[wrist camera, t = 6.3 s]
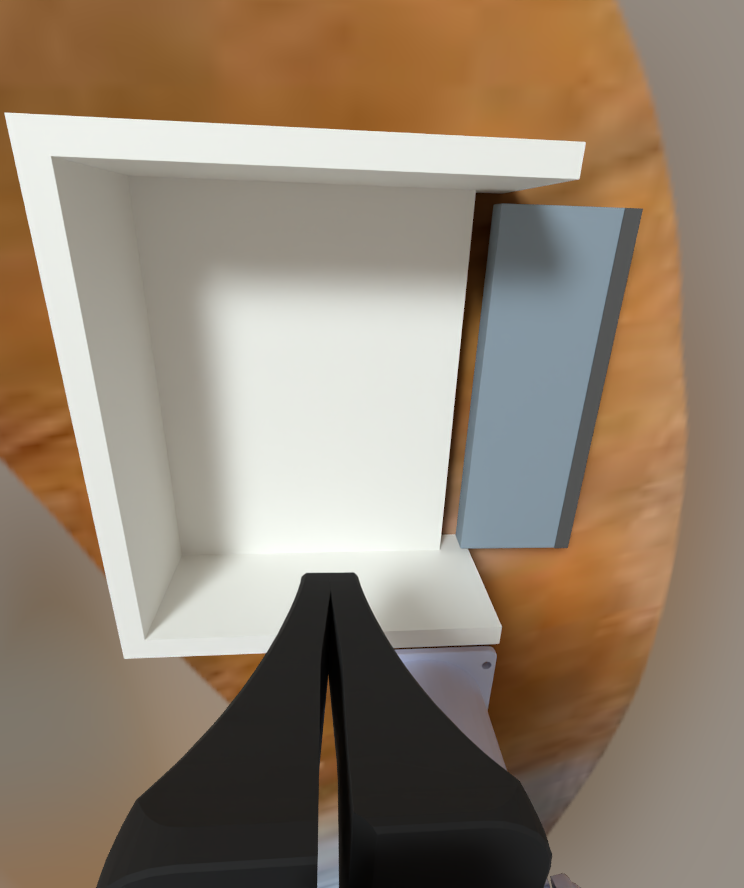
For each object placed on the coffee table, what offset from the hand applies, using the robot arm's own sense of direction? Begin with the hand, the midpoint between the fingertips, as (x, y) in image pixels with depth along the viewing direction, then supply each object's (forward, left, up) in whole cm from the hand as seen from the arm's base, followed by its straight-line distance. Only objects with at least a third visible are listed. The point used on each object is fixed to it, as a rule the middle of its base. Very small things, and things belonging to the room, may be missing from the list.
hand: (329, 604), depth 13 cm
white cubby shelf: (+3, 0, -9) cm, 10 cm away
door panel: (+3, -6, -8) cm, 10 cm away
